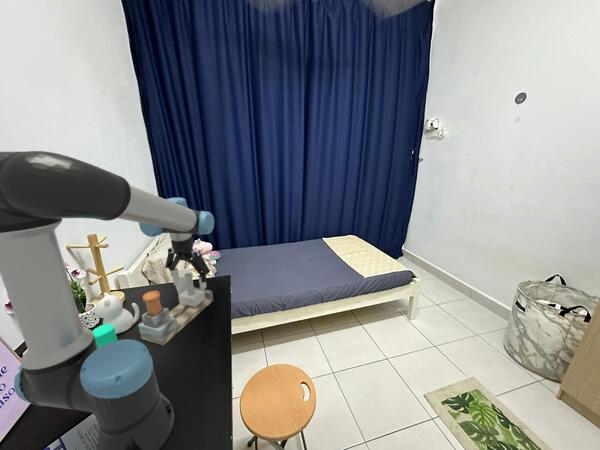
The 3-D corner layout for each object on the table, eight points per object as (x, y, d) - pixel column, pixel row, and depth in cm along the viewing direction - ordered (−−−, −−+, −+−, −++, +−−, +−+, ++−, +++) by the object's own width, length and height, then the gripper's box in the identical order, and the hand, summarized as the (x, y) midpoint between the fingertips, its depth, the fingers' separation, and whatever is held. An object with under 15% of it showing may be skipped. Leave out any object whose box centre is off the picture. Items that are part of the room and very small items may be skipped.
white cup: (176, 289, 118) (173, 271, 115) (194, 285, 121) (191, 267, 118) (176, 298, 111) (172, 278, 108) (195, 293, 114) (192, 274, 111)
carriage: (195, 307, 100) (190, 279, 96) (179, 303, 102) (174, 276, 99) (205, 298, 105) (201, 272, 101) (190, 295, 108) (185, 269, 104)
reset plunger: (154, 318, 84) (150, 300, 81) (143, 315, 85) (139, 297, 83) (166, 309, 88) (162, 292, 86) (155, 306, 90) (151, 289, 87)
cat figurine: (102, 328, 93) (91, 294, 89) (141, 314, 101) (131, 282, 96) (102, 342, 87) (89, 306, 82) (143, 326, 94) (134, 293, 89)
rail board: (163, 345, 85) (157, 321, 82) (141, 338, 88) (135, 315, 85) (213, 300, 109) (210, 280, 106) (194, 296, 112) (191, 277, 109)
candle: (109, 365, 77) (99, 334, 74) (93, 362, 79) (83, 331, 75) (125, 350, 83) (117, 320, 79) (110, 347, 84) (101, 318, 80)
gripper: (214, 237, 95) (221, 286, 101) (164, 231, 102) (173, 276, 109) (201, 245, 88) (209, 296, 94) (148, 237, 96) (159, 285, 102)
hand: (190, 286), depth 102 cm, fingers open, 13 cm apart
